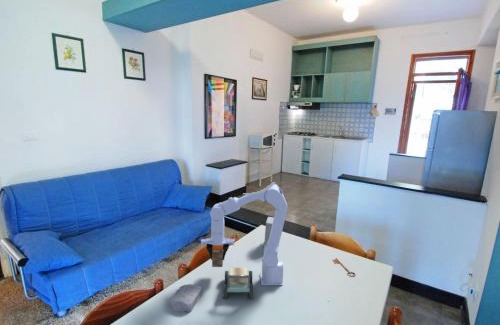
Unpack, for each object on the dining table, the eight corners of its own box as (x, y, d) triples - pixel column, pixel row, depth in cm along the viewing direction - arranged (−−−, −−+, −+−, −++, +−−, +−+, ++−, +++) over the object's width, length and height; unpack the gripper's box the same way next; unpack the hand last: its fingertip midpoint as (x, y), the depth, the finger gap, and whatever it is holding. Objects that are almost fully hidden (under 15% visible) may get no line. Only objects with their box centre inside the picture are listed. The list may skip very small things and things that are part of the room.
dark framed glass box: (251, 278, 117) (252, 258, 115) (253, 300, 104) (253, 277, 102) (225, 278, 117) (225, 257, 115) (223, 300, 103) (223, 277, 101)
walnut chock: (223, 258, 121) (223, 246, 119) (222, 267, 114) (222, 254, 112) (213, 258, 120) (213, 246, 119) (212, 267, 113) (212, 254, 112)
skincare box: (265, 241, 151) (266, 216, 148) (277, 242, 150) (279, 217, 146) (263, 248, 143) (264, 222, 140) (276, 250, 141) (277, 223, 138)
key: (329, 260, 134) (345, 278, 120) (329, 259, 134) (345, 276, 120) (339, 259, 135) (356, 276, 121) (339, 257, 135) (357, 274, 121)
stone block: (168, 313, 98) (192, 313, 96) (166, 302, 98) (190, 301, 96) (182, 293, 110) (204, 292, 108) (180, 283, 109) (202, 282, 107)
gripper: (234, 227, 118) (234, 254, 121) (202, 226, 117) (202, 254, 120) (234, 234, 111) (233, 262, 114) (200, 234, 110) (200, 262, 113)
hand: (217, 258), depth 116 cm, fingers closed on walnut chock, 4 cm apart
